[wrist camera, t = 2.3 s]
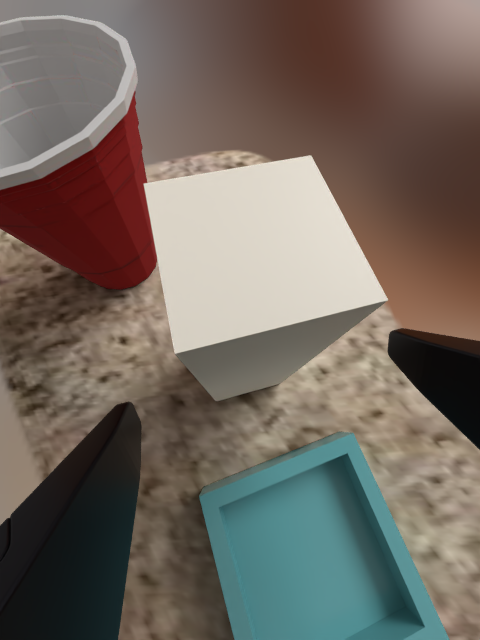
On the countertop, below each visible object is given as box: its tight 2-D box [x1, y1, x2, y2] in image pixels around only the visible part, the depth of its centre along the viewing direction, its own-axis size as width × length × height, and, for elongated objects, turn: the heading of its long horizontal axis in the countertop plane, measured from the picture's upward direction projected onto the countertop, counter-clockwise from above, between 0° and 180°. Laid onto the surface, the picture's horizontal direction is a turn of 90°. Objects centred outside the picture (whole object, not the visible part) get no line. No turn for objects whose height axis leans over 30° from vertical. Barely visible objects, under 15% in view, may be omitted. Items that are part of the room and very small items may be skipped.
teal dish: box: [199, 432, 449, 640], centre depth 13 cm, size 9×9×2 cm
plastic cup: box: [0, 15, 157, 290], centre depth 15 cm, size 11×11×12 cm
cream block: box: [144, 156, 388, 402], centre depth 12 cm, size 4×4×13 cm
